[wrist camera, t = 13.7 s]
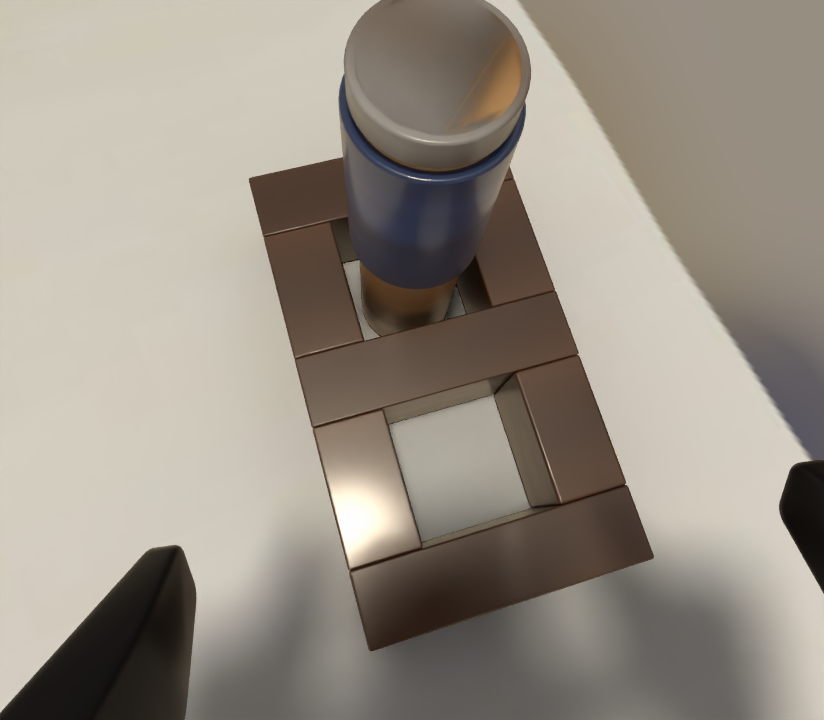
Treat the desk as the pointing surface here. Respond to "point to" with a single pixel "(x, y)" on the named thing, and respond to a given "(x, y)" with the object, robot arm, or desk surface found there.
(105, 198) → the desk surface
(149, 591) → the robot arm
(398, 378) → the holder
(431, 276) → the travel flask
